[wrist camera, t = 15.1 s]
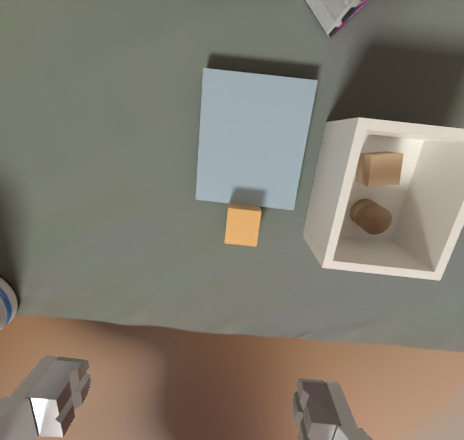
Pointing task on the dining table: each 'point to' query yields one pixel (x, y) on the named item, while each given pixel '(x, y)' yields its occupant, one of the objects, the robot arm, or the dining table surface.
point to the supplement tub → (7, 303)
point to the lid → (251, 145)
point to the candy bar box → (335, 12)
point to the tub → (388, 198)
